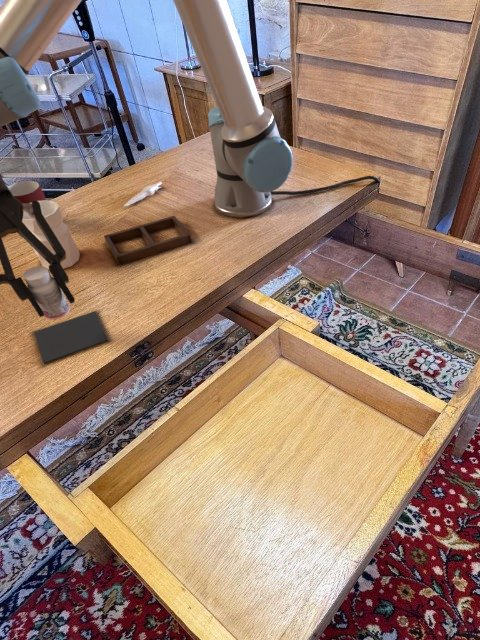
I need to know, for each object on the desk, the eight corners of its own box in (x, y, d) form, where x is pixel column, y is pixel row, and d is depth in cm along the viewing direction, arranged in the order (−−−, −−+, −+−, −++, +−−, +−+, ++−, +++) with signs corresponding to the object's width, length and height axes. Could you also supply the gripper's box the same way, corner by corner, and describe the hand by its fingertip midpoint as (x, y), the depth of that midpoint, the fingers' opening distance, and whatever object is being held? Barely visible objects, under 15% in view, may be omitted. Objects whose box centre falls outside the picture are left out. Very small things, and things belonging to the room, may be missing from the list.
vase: (36, 271, 100) (8, 221, 91) (48, 250, 106) (23, 200, 97) (74, 269, 100) (50, 219, 91) (85, 248, 106) (63, 199, 97)
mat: (95, 312, 91) (95, 311, 90) (108, 340, 85) (108, 339, 85) (34, 333, 87) (33, 331, 86) (44, 364, 81) (43, 362, 81)
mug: (10, 229, 112) (-12, 190, 105) (35, 215, 117) (16, 176, 109) (40, 238, 109) (20, 198, 102) (64, 223, 114) (47, 184, 106)
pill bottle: (38, 313, 81) (15, 273, 75) (62, 300, 83) (41, 261, 77) (52, 324, 79) (29, 284, 73) (75, 310, 81) (55, 271, 75)
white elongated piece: (158, 185, 127) (157, 179, 125) (165, 187, 126) (164, 181, 125) (120, 208, 119) (118, 201, 117) (127, 210, 118) (125, 203, 116)
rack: (176, 222, 113) (174, 215, 112) (192, 242, 107) (190, 234, 106) (106, 243, 108) (103, 235, 106) (119, 265, 101) (116, 257, 100)
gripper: (31, 175, 79) (104, 292, 84) (-79, 207, 72) (7, 334, 77) (27, 152, 72) (106, 281, 77) (-94, 185, 65) (1, 326, 70)
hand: (57, 307), depth 77 cm, fingers closed on pill bottle, 5 cm apart
